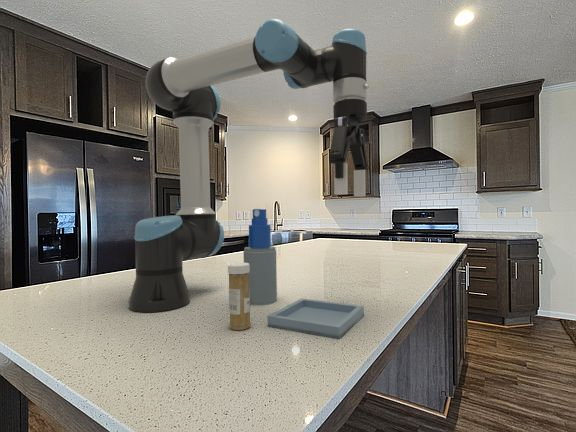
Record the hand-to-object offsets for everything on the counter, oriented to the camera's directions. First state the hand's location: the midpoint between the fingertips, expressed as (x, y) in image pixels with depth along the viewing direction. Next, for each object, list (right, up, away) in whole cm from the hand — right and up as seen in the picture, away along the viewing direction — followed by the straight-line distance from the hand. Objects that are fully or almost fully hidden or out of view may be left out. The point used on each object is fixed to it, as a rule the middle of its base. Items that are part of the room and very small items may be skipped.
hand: (351, 195), depth 77 cm
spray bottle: (-22, -28, +15) cm, 39 cm away
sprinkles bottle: (-25, -28, -6) cm, 38 cm away
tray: (-8, -28, -3) cm, 29 cm away
